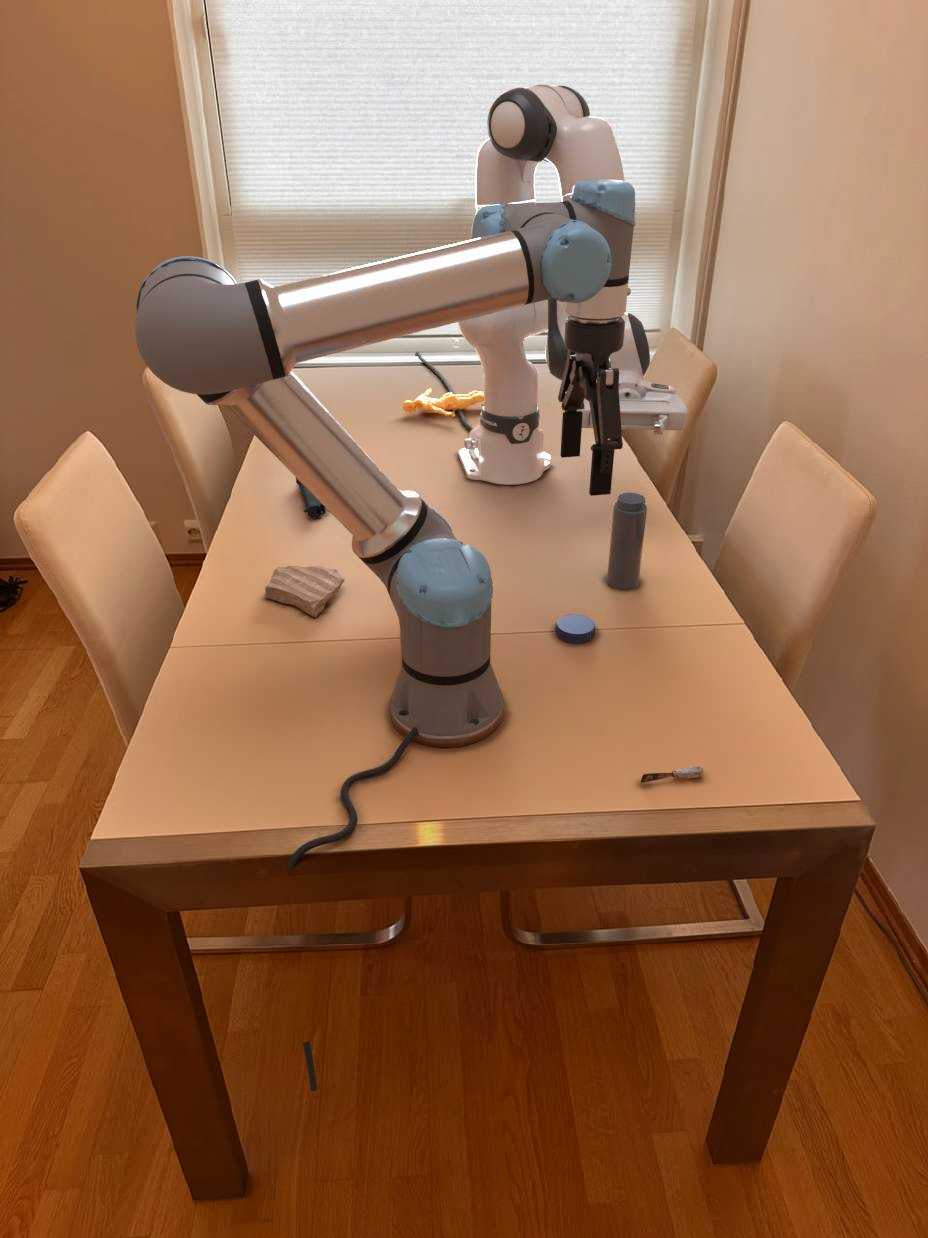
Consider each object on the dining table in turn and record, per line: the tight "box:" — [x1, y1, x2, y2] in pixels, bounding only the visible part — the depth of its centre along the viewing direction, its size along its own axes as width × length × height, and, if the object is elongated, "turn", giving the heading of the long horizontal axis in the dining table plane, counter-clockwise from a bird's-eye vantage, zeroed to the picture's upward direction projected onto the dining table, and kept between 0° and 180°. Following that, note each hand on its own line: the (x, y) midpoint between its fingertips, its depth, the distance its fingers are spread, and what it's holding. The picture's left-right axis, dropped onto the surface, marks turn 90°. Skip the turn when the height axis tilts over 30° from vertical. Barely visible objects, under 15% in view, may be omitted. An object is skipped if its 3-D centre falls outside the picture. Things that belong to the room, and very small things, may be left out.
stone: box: [264, 565, 345, 618], centre depth 147 cm, size 13×12×3 cm
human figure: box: [402, 385, 484, 418], centre depth 225 cm, size 20×20×4 cm
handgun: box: [295, 477, 326, 519], centre depth 179 cm, size 3×18×12 cm
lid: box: [555, 613, 596, 644], centre depth 137 cm, size 6×6×2 cm
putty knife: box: [640, 765, 705, 784], centre depth 109 cm, size 1×8×2 cm, turn 103°
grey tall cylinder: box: [606, 492, 648, 590], centre depth 147 cm, size 5×5×15 cm
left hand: (584, 474), depth 124 cm, fingers open, 13 cm apart
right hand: (630, 429), depth 149 cm, fingers open, 8 cm apart
